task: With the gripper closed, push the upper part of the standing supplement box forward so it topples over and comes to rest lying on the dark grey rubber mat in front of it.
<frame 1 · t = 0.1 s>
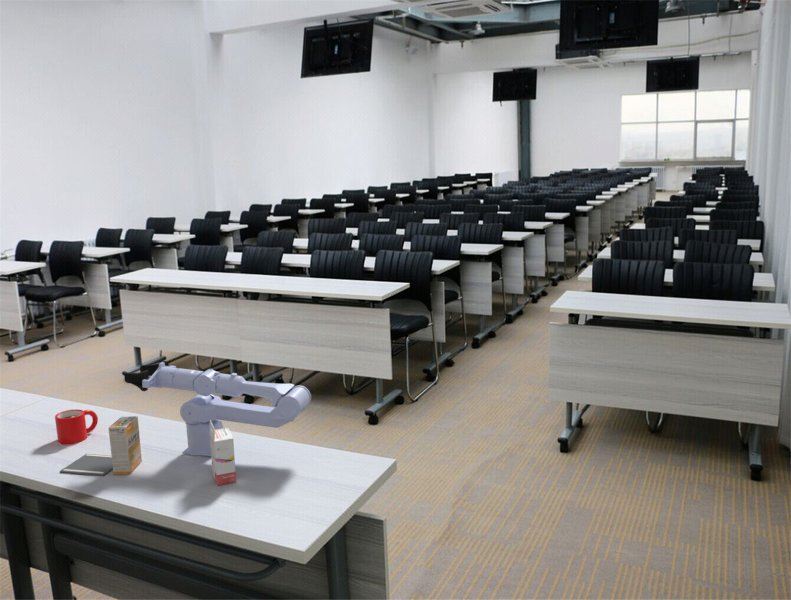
hand: (133, 373, 194), 22 cm above the table, tool horizontal, fingers open, 7 cm apart
supplement box: (128, 468, 184), on the table
ink cartridge box: (224, 478, 177), on the table
mat: (94, 465, 186), on the table
mug: (79, 437, 206), on the table
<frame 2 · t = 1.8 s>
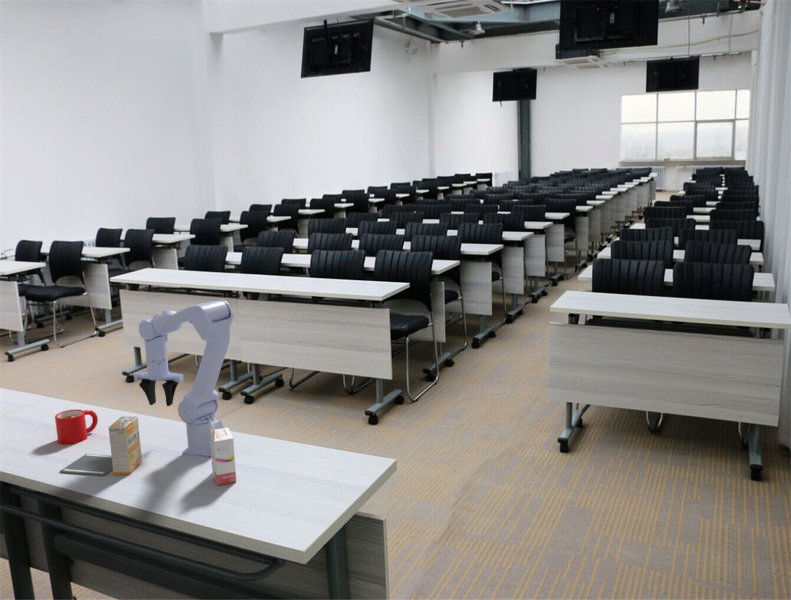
hand: (161, 404, 201), 10 cm above the table, tool pointing down, fingers open, 5 cm apart
nothing on the table moved.
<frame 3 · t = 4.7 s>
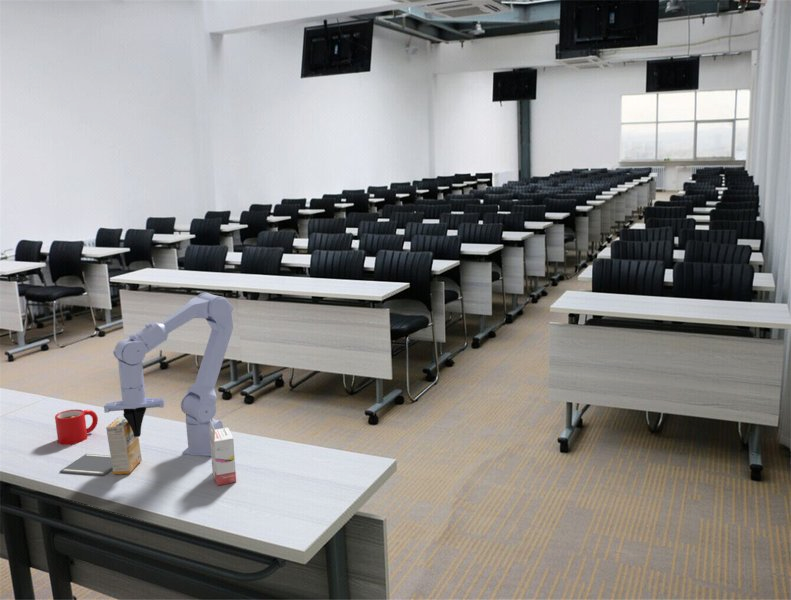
hand: (137, 435, 181), 9 cm above the table, tool pointing down, fingers closed
supplement box: (128, 468, 184), on the table, touching gripper
everything else where it was.
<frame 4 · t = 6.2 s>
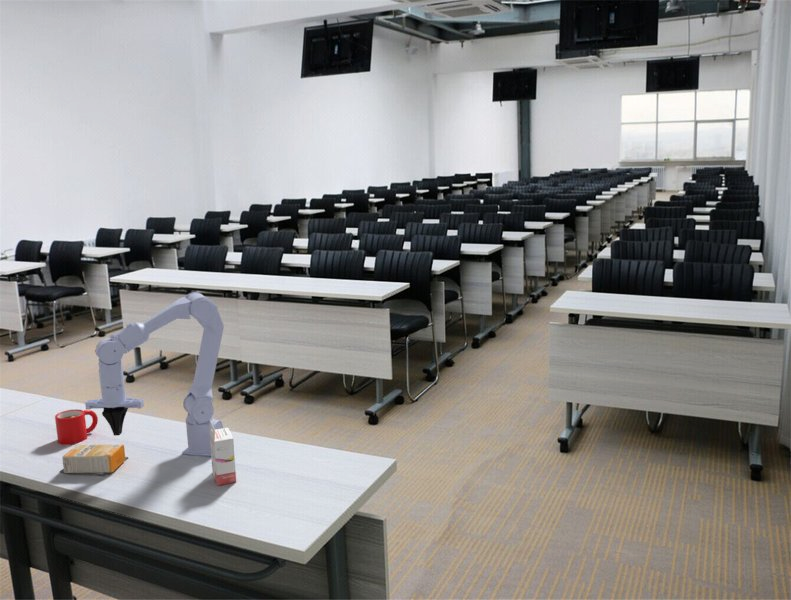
hand: (117, 434, 183), 9 cm above the table, tool pointing down, fingers closed
supplement box: (119, 457, 184), point 3 cm above the table, touching mat
everything else where it was.
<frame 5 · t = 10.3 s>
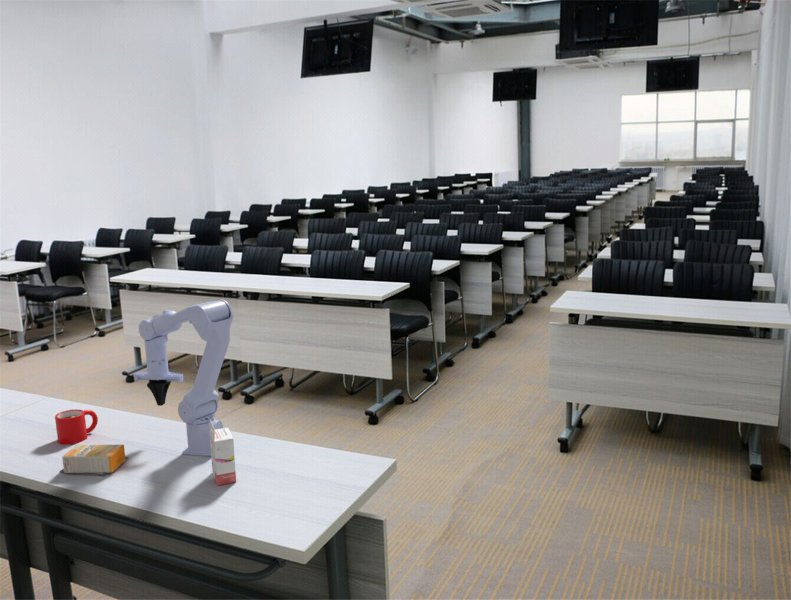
hand: (161, 404, 201), 10 cm above the table, tool pointing down, fingers closed
nothing on the table moved.
at the end: supplement box tilted 90°; supplement box inside the target area on the mat (5.0 cm from its centre), point 2.8 cm above the mat's base; supplement box touching mat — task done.
